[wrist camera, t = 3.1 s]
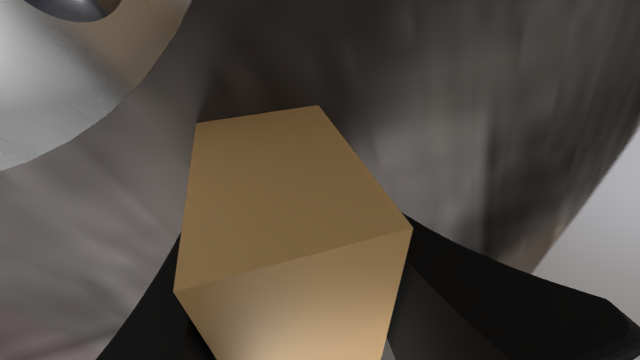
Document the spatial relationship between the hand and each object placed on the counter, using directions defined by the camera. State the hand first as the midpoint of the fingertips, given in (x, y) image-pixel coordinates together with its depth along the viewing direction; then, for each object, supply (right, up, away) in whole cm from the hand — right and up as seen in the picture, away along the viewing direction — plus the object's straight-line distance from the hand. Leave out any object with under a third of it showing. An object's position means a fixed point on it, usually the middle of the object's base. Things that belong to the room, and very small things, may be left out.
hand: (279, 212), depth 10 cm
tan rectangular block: (0, +1, +1) cm, 2 cm away
